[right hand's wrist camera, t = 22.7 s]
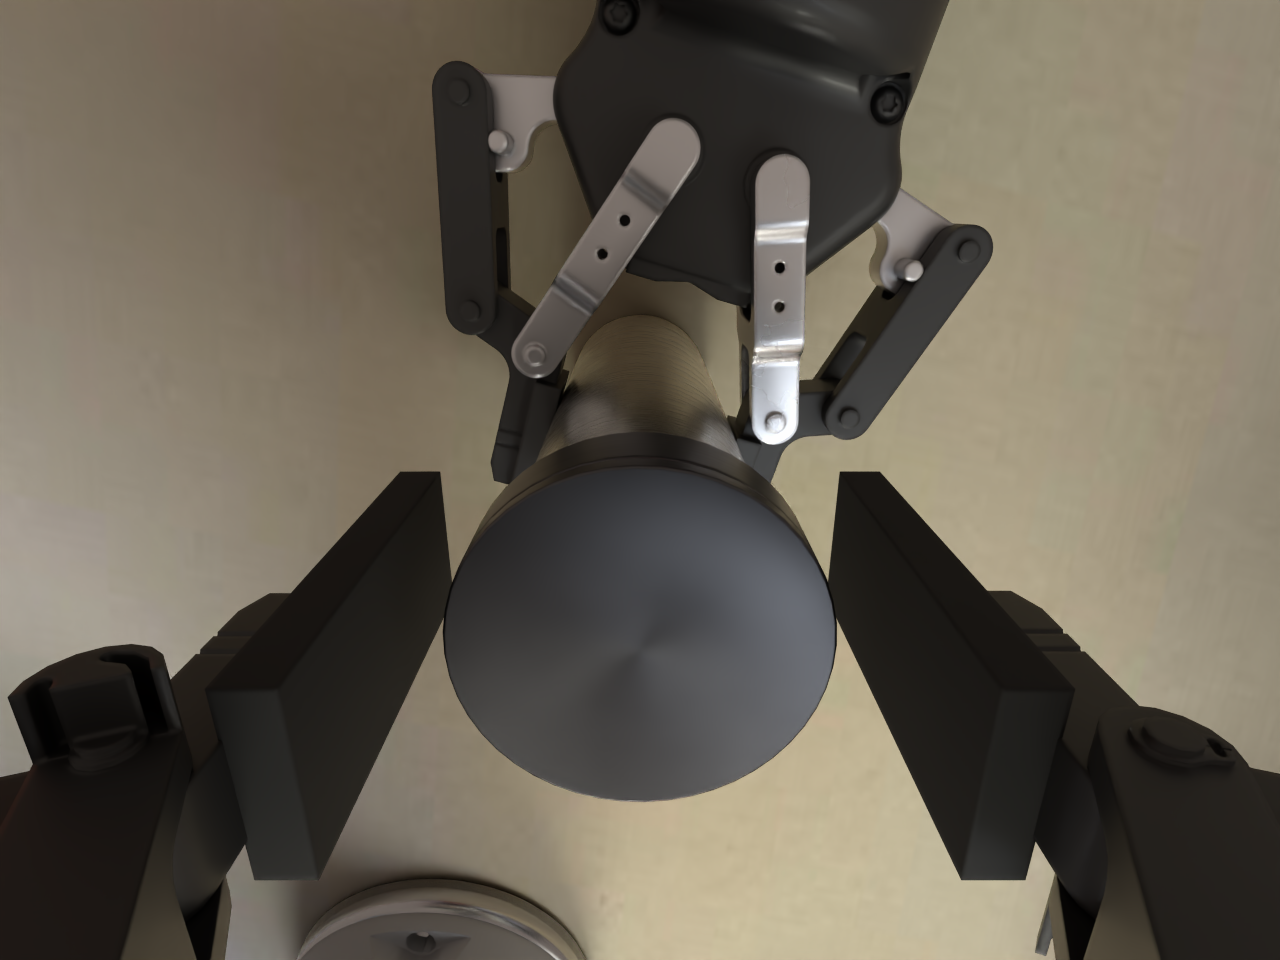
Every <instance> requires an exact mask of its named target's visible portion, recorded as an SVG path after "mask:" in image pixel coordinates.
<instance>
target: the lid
mask: <svg viewBox="0 0 1280 960" xmlns="http://www.w3.org/2000/svg"><path fill="white" fill-rule="evenodd" d="M443 642H444V655H445V659H446V663H447V668H448V672H449V676H450V679H451V682H452V684H453V687H454V689H455V692H456V695H457V697H458V699H459V701H460V702H461V704H462V706H463V708H464V710H465V711H466V713H467V715H468V716H469V718H470V719H471V720H472V722H473V723H474V724H475V726H476V727H477V728H478V730H479V731H480V732H481V734H482V735H483V736H484V737H485V738H486V739H487V740H488V741H489V742H490V743H491V744H492V745H493V746H494V747H495V748H496V749H497V750H498V751H500V752H501V753H502V754H503V755H505V756H506V757H507V758H508V759H509V760H511V761H512V762H513V763H515V764H516V765H518V766H519V767H521V768H523V769H524V770H526V771H527V772H529V773H531V774H532V775H534V776H536V777H538V778H540V779H542V780H544V781H546V782H548V783H551V784H553V785H555V786H558V787H561V788H564V789H566V790H569V791H572V792H575V793H579V794H583V795H587V796H591V797H595V798H601V799H608V800H616V801H630V802H651V801H665V800H673V799H678V798H684V797H690V796H694V795H697V794H701V793H704V792H708V791H711V790H714V789H717V788H719V787H722V786H724V785H727V784H729V783H732V782H734V781H736V780H738V779H740V778H742V777H744V776H746V775H747V774H749V773H751V772H753V771H755V770H756V769H758V768H759V767H761V766H762V765H763V764H765V763H766V762H768V761H769V760H771V759H772V758H773V757H775V756H776V755H777V754H778V753H779V752H780V751H781V750H782V749H784V748H785V747H786V746H787V745H788V744H789V743H790V742H791V741H792V740H793V739H794V738H795V737H796V735H797V734H798V733H799V732H800V731H801V730H802V729H803V727H804V726H805V725H806V723H807V722H808V720H809V719H810V717H811V716H812V714H813V713H814V711H815V710H816V708H817V706H818V704H819V702H820V700H821V698H822V696H823V694H824V692H825V690H826V688H827V685H828V681H829V678H830V675H831V672H832V669H833V665H834V658H835V652H836V646H837V621H836V614H835V607H834V601H833V597H832V594H831V591H830V588H829V585H828V581H827V578H826V576H825V574H824V572H823V570H822V568H821V566H820V564H819V562H818V560H817V558H816V556H815V554H814V552H813V550H812V548H811V546H810V544H809V542H808V540H807V538H806V536H805V534H804V532H803V530H802V528H801V526H800V524H799V522H798V520H797V518H796V516H795V514H794V513H793V511H792V510H791V508H790V507H789V506H788V504H787V503H786V501H785V500H784V498H783V497H782V496H781V495H780V494H779V492H778V491H777V490H776V489H775V488H774V487H773V486H772V485H771V484H770V483H769V482H768V481H767V480H766V479H765V478H764V477H763V476H761V475H760V474H759V473H758V472H756V471H755V470H754V469H753V468H752V467H750V466H749V465H747V464H746V463H744V462H742V461H741V460H739V459H738V458H736V457H734V456H733V455H731V454H729V453H727V452H725V451H723V450H720V449H718V448H716V447H714V446H711V445H709V444H706V443H703V442H700V441H696V440H693V439H690V438H686V437H682V436H676V435H670V434H664V433H651V432H628V433H617V434H608V435H604V436H599V437H595V438H590V439H586V440H583V441H580V442H577V443H574V444H572V445H569V446H566V447H563V448H561V449H559V450H557V451H555V452H553V453H551V454H549V455H548V456H546V457H544V458H542V459H540V460H539V461H537V462H536V463H535V464H533V465H532V466H530V467H529V468H527V469H526V470H524V471H523V472H522V473H521V474H520V475H519V476H517V477H516V478H515V479H514V480H513V481H512V482H511V483H510V484H509V485H508V486H507V487H506V488H505V489H504V490H503V491H502V493H501V494H500V495H499V496H498V497H497V499H496V500H495V501H494V502H493V503H492V505H491V507H490V508H489V510H488V512H487V513H486V515H485V516H484V518H483V520H482V521H481V523H480V525H479V527H478V529H477V531H476V533H475V535H474V537H473V539H472V541H471V543H470V545H469V547H468V549H467V551H466V553H465V555H464V557H463V559H462V561H461V563H460V565H459V567H458V570H457V572H456V575H455V577H454V579H453V582H452V584H451V587H450V590H449V594H448V598H447V602H446V606H445V612H444V624H443Z"/></svg>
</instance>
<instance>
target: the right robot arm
mask: <svg viewBox="0 0 1280 960" xmlns="http://www.w3.org/2000/svg"><path fill="white" fill-rule="evenodd" d="M451 584H452V578H451V569H450V560H449V550H448V541H447V531H446V522H445V513H444V503H443V494H442V484H441V475H440V472H400V473H399V474H398V475H397V476H396V477H395V478H394V479H393V480H392V481H391V483H390V484H389V485H388V486H387V487H386V488H385V489H384V490H383V491H382V493H381V494H380V495H379V496H378V497H377V498H376V499H375V500H374V501H373V503H372V504H371V505H370V506H369V507H368V508H367V509H366V510H365V511H364V513H363V514H362V515H361V516H360V517H359V518H358V519H357V520H356V521H355V523H354V524H353V525H352V526H351V527H350V528H349V529H348V530H347V531H346V532H345V534H344V535H343V536H342V537H341V538H340V539H339V540H338V541H337V542H336V544H335V545H334V546H333V547H332V548H331V549H330V550H329V551H328V552H327V554H326V555H325V556H324V557H323V558H322V559H321V560H320V561H319V562H318V564H317V565H316V566H315V567H314V568H313V569H312V570H311V571H310V572H309V574H308V575H307V576H306V577H305V578H304V579H303V580H302V581H301V582H300V584H299V585H298V586H297V587H296V588H295V589H294V590H293V591H292V592H291V593H269V594H268V595H266V596H264V597H262V598H261V599H259V600H257V601H255V602H254V603H252V604H250V605H248V606H247V607H245V608H243V609H241V610H240V611H238V612H237V613H236V614H235V615H234V616H233V617H232V618H231V619H230V620H229V621H228V622H227V623H226V624H225V625H224V626H223V627H222V628H221V629H220V630H219V631H218V635H217V636H213V637H212V638H211V639H210V640H209V641H208V642H207V643H206V644H205V645H204V646H203V648H202V649H201V650H200V651H201V652H200V654H196V655H195V656H194V657H193V658H192V659H191V660H190V661H189V662H188V663H187V664H186V665H185V666H184V667H183V668H182V669H181V670H180V671H179V672H178V673H177V674H176V675H175V676H174V677H173V678H172V679H171V680H170V677H169V673H168V670H167V666H166V663H165V659H164V656H163V654H162V653H160V652H159V651H157V650H156V649H154V648H153V647H150V646H142V645H135V644H128V645H118V646H108V647H103V648H99V649H95V650H91V651H87V652H83V653H80V654H76V655H74V656H71V657H69V658H66V659H64V660H61V661H59V662H57V663H54V664H52V665H49V666H47V667H46V668H44V669H42V670H41V671H39V672H37V673H36V674H34V675H33V676H31V677H29V678H28V679H26V680H24V681H23V682H22V683H21V684H20V685H19V686H18V687H17V688H16V689H15V690H14V691H13V692H12V693H11V694H10V695H9V696H8V700H9V703H10V705H11V708H12V710H13V713H14V716H15V718H16V721H17V723H18V726H19V729H20V731H21V734H22V737H23V739H24V742H25V744H26V747H27V750H28V752H29V755H30V757H31V760H32V763H33V765H32V767H31V769H30V771H28V772H23V773H18V774H14V775H9V776H4V777H0V960H225V953H226V945H227V937H228V930H229V922H230V915H231V907H232V905H231V898H230V891H229V887H228V883H227V880H226V874H227V872H228V871H229V869H230V867H231V866H232V864H233V863H234V861H235V859H236V858H237V856H238V855H239V853H240V851H241V850H242V848H243V846H244V845H246V849H247V853H248V857H249V861H250V864H251V868H252V872H253V876H254V880H319V878H320V876H321V874H322V872H323V870H324V868H325V866H326V864H327V862H328V859H329V857H330V855H331V853H332V851H333V849H334V847H335V845H336V843H337V841H338V838H339V836H340V834H341V832H342V830H343V828H344V826H345V824H346V822H347V820H348V817H349V815H350V813H351V811H352V809H353V807H354V805H355V803H356V801H357V799H358V796H359V794H360V792H361V790H362V788H363V786H364V784H365V782H366V780H367V778H368V775H369V773H370V771H371V769H372V767H373V765H374V763H375V761H376V759H377V757H378V754H379V752H380V750H381V748H382V746H383V744H384V742H385V740H386V738H387V736H388V734H389V731H390V729H391V727H392V725H393V723H394V721H395V719H396V717H397V715H398V713H399V710H400V708H401V706H402V704H403V702H404V700H405V698H406V696H407V694H408V692H409V689H410V687H411V685H412V683H413V681H414V679H415V677H416V675H417V673H418V671H419V668H420V666H421V664H422V662H423V660H424V658H425V656H426V654H427V652H428V650H429V647H430V645H431V643H432V641H433V639H434V637H435V635H436V633H437V631H438V629H439V626H440V624H441V622H442V620H443V618H444V612H445V606H446V602H447V598H448V594H449V590H450V587H451ZM828 585H829V588H830V591H831V594H832V597H833V601H834V607H835V614H836V618H837V620H838V622H839V624H840V626H841V629H842V631H843V633H844V635H845V637H846V639H847V641H848V643H849V645H850V647H851V650H852V652H853V654H854V656H855V658H856V660H857V662H858V664H859V666H860V668H861V671H862V673H863V675H864V677H865V679H866V681H867V683H868V685H869V687H870V689H871V692H872V694H873V696H874V698H875V700H876V702H877V704H878V706H879V708H880V710H881V713H882V715H883V717H884V719H885V721H886V723H887V725H888V727H889V729H890V731H891V734H892V736H893V738H894V740H895V742H896V744H897V746H898V748H899V750H900V752H901V754H902V757H903V759H904V761H905V763H906V765H907V767H908V769H909V771H910V773H911V775H912V778H913V780H914V782H915V784H916V786H917V788H918V790H919V792H920V794H921V796H922V799H923V801H924V803H925V805H926V807H927V809H928V811H929V813H930V815H931V817H932V820H933V822H934V824H935V826H936V828H937V830H938V832H939V834H940V836H941V838H942V841H943V843H944V845H945V847H946V849H947V851H948V853H949V855H950V857H951V859H952V862H953V864H954V866H955V868H956V870H957V872H958V874H959V876H960V878H961V880H1026V876H1027V872H1028V868H1029V864H1030V861H1031V857H1032V853H1033V849H1034V845H1035V841H1036V843H1037V844H1038V846H1039V848H1040V849H1041V851H1042V852H1043V854H1044V856H1045V857H1046V859H1047V860H1048V862H1049V864H1050V865H1051V867H1052V868H1053V870H1054V872H1055V876H1054V880H1053V883H1052V887H1051V891H1050V894H1049V898H1048V901H1047V905H1046V908H1045V912H1044V915H1043V919H1042V923H1041V926H1040V930H1039V933H1038V937H1037V944H1036V950H1035V953H1038V954H1041V955H1044V956H1046V954H1047V951H1048V948H1049V944H1050V941H1051V939H1052V938H1053V943H1054V950H1055V958H1056V960H1280V774H1278V773H1273V772H1268V771H1264V770H1259V769H1254V768H1250V767H1249V766H1248V764H1247V762H1246V761H1245V760H1244V759H1243V757H1242V756H1241V755H1240V754H1239V753H1238V751H1237V750H1236V749H1235V748H1234V746H1233V745H1231V744H1230V743H1228V742H1227V741H1226V740H1224V739H1223V738H1222V737H1220V736H1219V735H1217V734H1216V733H1215V732H1213V731H1212V730H1210V729H1208V728H1206V727H1204V726H1202V725H1200V724H1198V723H1196V722H1194V721H1192V720H1190V719H1188V718H1186V717H1184V716H1180V715H1177V714H1174V713H1171V712H1167V711H1164V710H1161V709H1157V708H1152V707H1143V706H1139V705H1138V704H1137V703H1136V702H1135V701H1134V700H1133V699H1132V698H1131V697H1130V696H1129V695H1128V694H1127V693H1126V692H1125V691H1124V690H1123V689H1122V688H1121V687H1120V686H1119V685H1118V684H1117V683H1116V682H1115V681H1114V680H1113V679H1112V678H1111V677H1110V676H1109V675H1108V674H1107V673H1106V672H1105V671H1104V670H1103V669H1102V668H1101V667H1100V666H1099V665H1098V664H1097V663H1096V662H1095V661H1094V660H1093V659H1092V658H1091V657H1090V656H1089V655H1088V654H1087V653H1086V652H1081V650H1080V646H1079V645H1078V644H1077V643H1076V642H1075V641H1074V640H1073V639H1072V638H1071V637H1070V636H1069V635H1068V634H1063V629H1062V628H1061V627H1060V626H1059V625H1058V624H1057V623H1056V622H1055V621H1054V620H1053V619H1052V618H1051V617H1050V616H1049V615H1048V614H1047V613H1046V612H1045V611H1044V610H1043V609H1042V608H1040V607H1038V606H1036V605H1035V604H1033V603H1031V602H1029V601H1028V600H1026V599H1024V598H1022V597H1021V596H1019V595H1017V594H1015V593H1014V592H1012V591H987V590H986V589H985V588H984V587H983V586H982V585H981V584H980V582H979V581H978V580H977V579H976V578H975V577H974V576H973V575H972V574H971V572H970V571H969V570H968V569H967V568H966V567H965V566H964V565H963V564H962V562H961V561H960V560H959V559H958V558H957V557H956V556H955V555H954V554H953V552H952V551H951V550H950V549H949V548H948V547H947V546H946V545H945V544H944V542H943V541H942V540H941V539H940V538H939V537H938V536H937V535H936V534H935V532H934V531H933V530H932V529H931V528H930V527H929V526H928V525H927V524H926V523H925V521H924V520H923V519H922V518H921V517H920V516H919V515H918V514H917V513H916V511H915V510H914V509H913V508H912V507H911V506H910V505H909V504H908V503H907V501H906V500H905V499H904V498H903V497H902V496H901V495H900V494H899V493H898V491H897V490H896V489H895V488H894V487H893V486H892V485H891V484H890V483H889V481H888V480H887V479H886V478H885V477H884V476H883V475H882V474H881V473H880V472H840V475H839V484H838V494H837V503H836V513H835V522H834V531H833V541H832V550H831V560H830V569H829V578H828ZM296 960H586V959H585V957H584V955H583V953H582V951H581V949H580V948H579V946H578V945H577V943H576V942H575V940H574V939H573V938H572V937H571V936H570V934H569V933H568V932H567V931H566V930H565V929H564V928H563V927H562V926H561V925H560V924H559V923H558V922H557V921H555V920H554V919H553V918H552V917H550V916H549V915H548V914H546V913H545V912H543V911H542V910H540V909H539V908H537V907H536V906H534V905H532V904H530V903H528V902H526V901H525V900H523V899H521V898H518V897H516V896H514V895H511V894H509V893H506V892H503V891H501V890H498V889H495V888H491V887H487V886H484V885H480V884H475V883H470V882H464V881H456V880H446V879H416V880H405V881H399V882H393V883H388V884H384V885H380V886H376V887H373V888H370V889H367V890H364V891H362V892H359V893H357V894H355V895H353V896H351V897H349V898H347V899H345V900H343V901H342V902H340V903H338V904H337V905H336V906H334V907H333V908H331V909H330V910H329V911H328V912H326V913H325V914H324V915H323V916H322V917H321V918H320V919H319V920H318V921H317V923H316V924H315V925H314V926H313V927H312V929H311V930H310V932H309V934H308V935H307V937H306V939H305V941H304V943H303V946H302V948H301V950H300V952H299V954H298V956H297V959H296Z"/></svg>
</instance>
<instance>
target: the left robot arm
mask: <svg viewBox="0 0 1280 960" xmlns="http://www.w3.org/2000/svg"><path fill="white" fill-rule="evenodd" d="M948 2H949V0H597V4H596V8H595V12H594V15H593V18H592V21H591V24H590V26H589V28H588V30H587V32H586V34H585V36H584V37H583V39H582V40H581V42H580V43H579V45H578V46H577V48H576V49H575V50H574V51H573V52H572V54H571V55H570V56H569V57H568V58H567V59H566V60H565V62H564V63H563V64H562V66H561V68H560V70H559V72H558V74H557V76H534V75H507V74H486V73H483V72H481V71H480V70H478V69H476V68H474V67H473V66H471V65H470V64H468V63H465V62H462V61H452V62H449V63H446V64H445V65H443V66H442V67H441V68H440V69H439V70H438V71H437V73H436V75H435V76H434V79H433V84H432V97H433V113H434V129H435V145H436V161H437V177H438V193H439V209H440V225H441V241H442V257H443V273H444V289H445V305H446V314H447V317H448V319H449V321H450V323H451V324H452V326H453V327H454V328H455V329H457V330H458V331H460V332H462V333H464V334H467V335H476V336H478V337H479V338H481V339H482V340H484V341H485V342H487V343H488V344H489V345H491V346H492V347H494V348H495V349H496V350H498V351H499V352H500V353H501V354H502V355H503V357H504V358H505V360H506V362H507V364H508V367H509V372H510V378H509V384H508V388H507V393H506V397H505V401H504V406H503V410H502V415H501V419H500V423H499V429H498V432H497V436H496V442H495V445H494V450H493V454H492V458H491V467H492V472H493V478H494V481H497V482H501V483H505V484H510V483H511V482H512V481H513V480H514V479H515V478H516V477H517V476H519V475H520V474H521V473H522V472H523V471H524V470H526V469H527V468H529V467H530V466H532V465H533V464H535V463H536V460H537V458H538V455H539V453H540V450H541V448H542V445H543V443H544V441H545V438H546V436H547V433H548V431H549V428H550V426H551V423H552V421H553V418H554V416H555V414H556V411H557V409H558V406H559V404H560V401H561V399H562V396H563V394H564V390H565V386H566V382H567V378H568V374H569V371H567V370H563V365H564V361H565V358H566V354H567V351H568V349H569V348H570V346H571V345H572V343H573V342H574V341H575V339H576V338H577V336H578V335H579V333H580V332H581V330H582V329H583V327H584V326H585V324H586V323H587V322H588V320H589V319H590V317H591V316H592V314H593V313H594V312H595V310H596V309H597V308H598V306H599V305H600V303H601V302H602V301H603V299H604V298H605V296H606V295H607V293H608V292H609V290H610V289H611V287H612V286H613V285H614V283H615V282H616V280H617V279H618V277H619V276H620V274H621V273H622V271H623V270H624V268H626V272H627V273H630V274H633V275H637V276H640V277H644V278H647V279H650V280H654V281H673V282H690V283H692V284H693V285H695V286H697V287H698V288H700V289H701V290H703V291H704V292H706V293H708V294H709V295H711V296H712V297H714V298H716V299H717V300H721V301H724V302H727V303H731V304H734V305H737V332H738V339H739V359H740V404H741V406H740V409H739V412H738V415H737V418H736V417H732V416H729V415H728V417H727V421H728V423H729V425H730V428H731V430H732V433H733V435H734V438H735V440H736V443H737V445H738V448H739V450H740V453H741V455H742V457H743V460H744V462H745V463H746V464H747V465H749V466H750V467H752V468H753V469H754V470H755V471H756V472H758V473H759V474H760V475H761V476H763V477H764V478H765V479H766V480H767V481H768V482H769V483H771V480H772V478H773V475H774V472H775V470H776V467H777V465H778V462H779V459H780V457H781V454H782V452H783V451H784V449H785V448H786V447H787V446H788V445H789V444H790V443H791V442H793V441H795V440H797V439H799V438H802V437H807V436H820V435H833V436H835V437H837V438H839V439H843V440H850V439H854V438H857V437H859V436H860V435H862V434H863V433H864V432H865V431H866V430H867V429H868V428H869V426H870V425H871V424H872V422H873V421H874V419H875V418H876V417H877V415H878V414H879V412H880V411H881V410H882V408H883V407H884V406H885V404H886V403H887V401H888V400H889V399H890V397H891V396H892V395H893V393H894V392H895V390H896V389H897V388H898V386H899V385H900V384H901V382H902V381H903V379H904V378H905V377H906V375H907V374H908V373H909V371H910V370H911V368H912V367H913V366H914V364H915V363H916V362H917V360H918V359H919V357H920V356H921V355H922V353H923V352H924V351H925V349H926V348H927V346H928V345H929V344H930V342H931V341H932V340H933V338H934V337H935V335H936V334H937V333H938V331H939V330H940V329H941V327H942V326H943V324H944V323H945V322H946V320H947V319H948V318H949V316H950V315H951V313H952V312H953V311H954V309H955V308H956V307H957V305H958V304H959V302H960V301H961V300H962V298H963V297H964V296H965V294H966V293H967V291H968V290H969V289H970V287H971V286H972V285H973V283H974V282H975V280H976V279H977V278H978V276H979V275H980V274H981V272H982V271H983V269H984V268H985V267H986V265H987V264H988V262H989V261H990V258H991V256H992V252H993V242H992V238H991V236H990V234H989V233H988V232H987V231H986V230H985V229H984V228H982V227H980V226H977V225H968V224H953V223H951V222H949V221H948V220H946V219H945V218H943V217H942V216H941V215H939V214H938V213H936V212H935V211H933V210H932V209H930V208H929V207H927V206H926V205H924V204H923V203H921V202H920V201H919V200H917V199H916V198H914V197H913V196H911V195H910V194H908V193H907V192H905V191H904V190H902V189H901V188H900V185H901V179H902V167H901V160H900V136H901V129H902V124H903V121H904V117H905V114H906V112H907V109H908V107H909V104H910V102H911V100H912V97H913V95H914V92H915V90H916V87H917V85H918V82H919V79H920V77H921V74H922V71H923V69H924V66H925V63H926V61H927V58H928V56H929V53H930V50H931V48H932V45H933V42H934V40H935V37H936V34H937V32H938V29H939V26H940V24H941V21H942V18H943V16H944V13H945V10H946V8H947V5H948ZM554 124H558V126H559V129H560V131H561V134H562V137H563V140H564V143H565V145H566V148H567V151H568V154H569V156H570V159H571V162H572V165H573V167H574V170H575V173H576V176H577V179H578V181H579V184H580V187H581V190H582V192H583V195H584V198H585V201H586V203H587V206H588V209H589V212H590V215H591V217H592V220H593V221H592V222H591V224H590V225H589V227H588V228H587V230H586V231H585V233H584V234H583V236H582V237H581V239H580V240H579V242H578V244H577V245H576V247H575V248H574V250H573V251H572V253H571V254H570V256H569V257H568V259H567V260H566V262H565V263H564V265H563V266H562V268H561V270H560V271H559V273H558V274H557V276H556V278H555V279H554V281H553V283H552V285H551V286H550V288H549V289H548V291H547V293H546V294H545V296H544V297H543V299H542V300H541V302H540V303H539V305H538V306H537V308H535V307H533V306H532V305H531V304H529V303H528V302H527V301H525V300H524V299H522V298H521V297H520V296H518V295H517V294H515V293H514V292H513V291H511V272H510V239H509V206H508V173H516V172H519V171H522V170H523V169H525V168H526V167H527V166H528V164H529V163H530V161H531V159H532V157H533V152H534V145H535V141H536V139H537V137H538V135H539V134H540V132H541V131H542V130H543V129H545V128H546V127H548V126H550V125H554ZM871 226H872V227H873V229H874V231H875V234H876V238H877V244H876V249H875V252H874V254H873V256H872V258H871V260H870V264H869V273H870V277H871V279H872V281H873V282H874V283H875V284H876V285H877V286H876V287H875V289H874V290H873V292H872V293H871V295H870V296H869V298H868V299H867V301H866V302H865V304H864V305H863V306H862V308H861V309H860V311H859V312H858V314H857V315H856V317H855V318H854V320H853V321H852V323H851V324H850V326H849V327H848V329H847V330H846V331H845V333H844V334H843V336H842V337H841V339H840V340H839V342H838V343H837V345H836V346H835V348H834V349H833V351H832V352H831V353H830V355H829V356H828V358H827V359H826V361H825V362H824V364H823V365H822V367H821V368H820V370H819V371H818V373H817V374H816V376H815V377H814V378H813V380H799V364H800V356H801V354H802V352H803V348H804V330H805V281H806V276H807V275H808V274H809V273H811V272H812V271H813V270H815V269H816V268H817V267H819V266H820V265H821V264H823V263H824V262H825V261H827V260H828V259H829V258H831V257H832V256H833V255H834V254H836V253H837V252H838V251H840V250H841V249H842V248H844V247H845V246H846V245H848V244H849V243H850V242H852V241H853V240H854V239H856V238H857V237H858V236H860V235H861V234H862V233H863V232H865V231H866V230H867V229H869V228H870V227H871Z"/></svg>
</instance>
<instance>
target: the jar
mask: <svg viewBox="0 0 1280 960" xmlns="http://www.w3.org/2000/svg"><path fill="white" fill-rule="evenodd" d="M628 432H651V433H664V434H670V435H676V436H682V437H686V438H690V439H693V440H696V441H700V442H703V443H706V444H709V445H711V446H714V447H716V448H718V449H720V450H723V451H725V452H727V453H729V454H731V455H733V456H734V457H736V458H738V459H739V460H741V461H742V462H744V460H743V457H742V455H741V453H740V450H739V448H738V445H737V443H736V440H735V438H734V435H733V433H732V430H731V428H730V425H729V423H728V421H727V418H726V416H725V413H724V411H723V408H722V406H721V403H720V401H719V398H718V396H717V393H716V391H715V389H714V386H713V384H712V381H711V379H710V376H709V374H708V371H707V369H706V366H705V364H704V361H703V359H702V357H701V354H700V352H699V350H698V348H697V346H696V345H695V344H694V342H693V341H692V339H691V338H690V337H689V336H688V335H687V334H686V333H685V332H684V331H683V330H682V329H680V328H679V327H678V326H676V325H674V324H673V323H671V322H669V321H667V320H665V319H662V318H658V317H655V316H649V315H631V316H626V317H621V318H618V319H616V320H613V321H611V322H609V323H607V324H605V325H604V326H602V327H601V328H600V329H598V330H597V331H596V332H595V333H594V334H593V335H592V336H591V337H590V338H589V340H588V341H587V342H586V343H585V345H584V347H583V348H582V350H581V352H580V355H579V357H578V359H577V362H576V364H575V367H574V369H573V372H572V374H571V376H570V379H569V381H568V384H567V386H566V389H565V391H564V394H563V396H562V399H561V401H560V404H559V406H558V409H557V411H556V414H555V416H554V418H553V421H552V423H551V426H550V428H549V431H548V433H547V436H546V438H545V441H544V443H543V445H542V448H541V450H540V453H539V455H538V458H537V460H536V462H537V461H539V460H540V459H542V458H544V457H546V456H548V455H549V454H551V453H553V452H555V451H557V450H559V449H561V448H563V447H566V446H569V445H572V444H574V443H577V442H580V441H583V440H586V439H590V438H595V437H599V436H604V435H608V434H617V433H628ZM744 463H745V462H744Z"/></svg>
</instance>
